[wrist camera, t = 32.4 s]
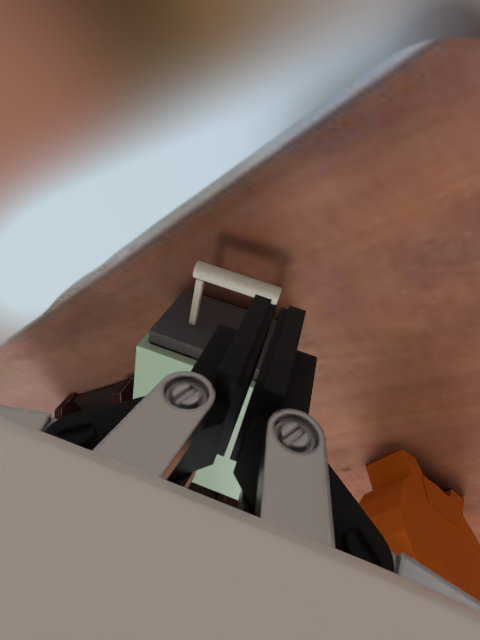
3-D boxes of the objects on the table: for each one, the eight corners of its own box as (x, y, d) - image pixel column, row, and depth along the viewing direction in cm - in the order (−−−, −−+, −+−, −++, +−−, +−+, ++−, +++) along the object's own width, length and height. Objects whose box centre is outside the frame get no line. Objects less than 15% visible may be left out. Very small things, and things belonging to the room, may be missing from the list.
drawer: (194, 233, 33) (154, 266, 26) (315, 272, 32) (304, 317, 25) (170, 389, 44) (139, 439, 38) (258, 422, 43) (241, 479, 37)
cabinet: (182, 293, 38) (136, 345, 30) (298, 332, 36) (282, 398, 28) (167, 395, 46) (128, 457, 39) (260, 430, 45) (240, 501, 37)
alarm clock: (352, 459, 43) (349, 680, 27) (395, 439, 40) (421, 677, 24) (427, 521, 45) (468, 762, 29) (474, 506, 42) (550, 769, 26)
